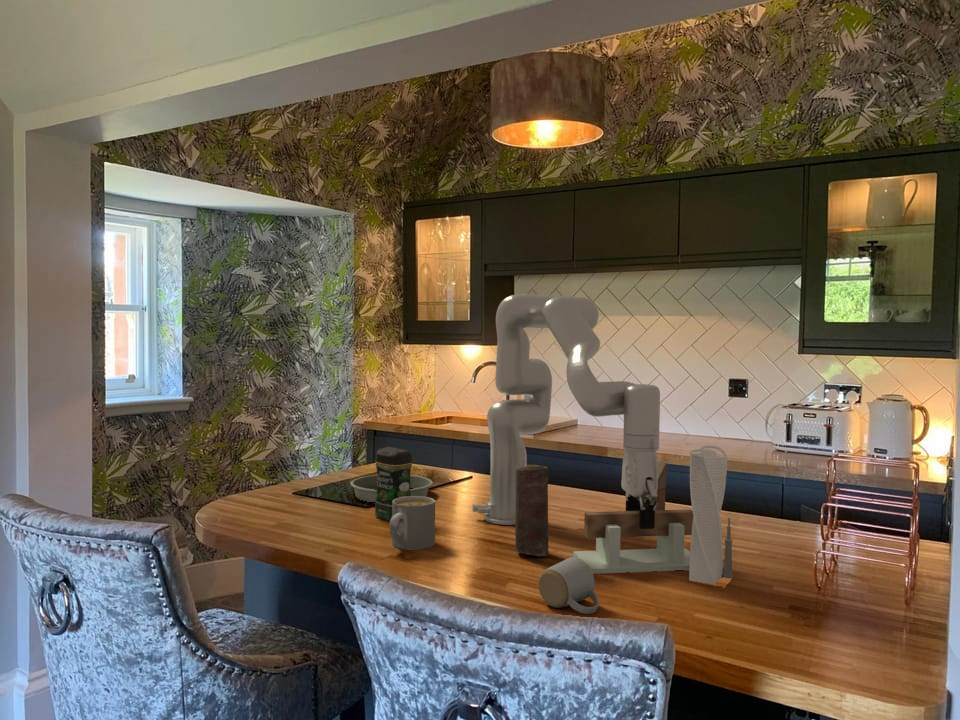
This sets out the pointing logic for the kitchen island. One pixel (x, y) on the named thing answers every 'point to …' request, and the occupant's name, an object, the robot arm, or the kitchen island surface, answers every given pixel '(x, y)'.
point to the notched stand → (637, 553)
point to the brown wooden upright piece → (660, 487)
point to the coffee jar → (391, 479)
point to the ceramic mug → (568, 585)
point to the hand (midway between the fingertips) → (639, 522)
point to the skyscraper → (708, 517)
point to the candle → (532, 510)
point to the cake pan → (369, 483)
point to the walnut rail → (636, 523)
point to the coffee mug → (413, 522)
